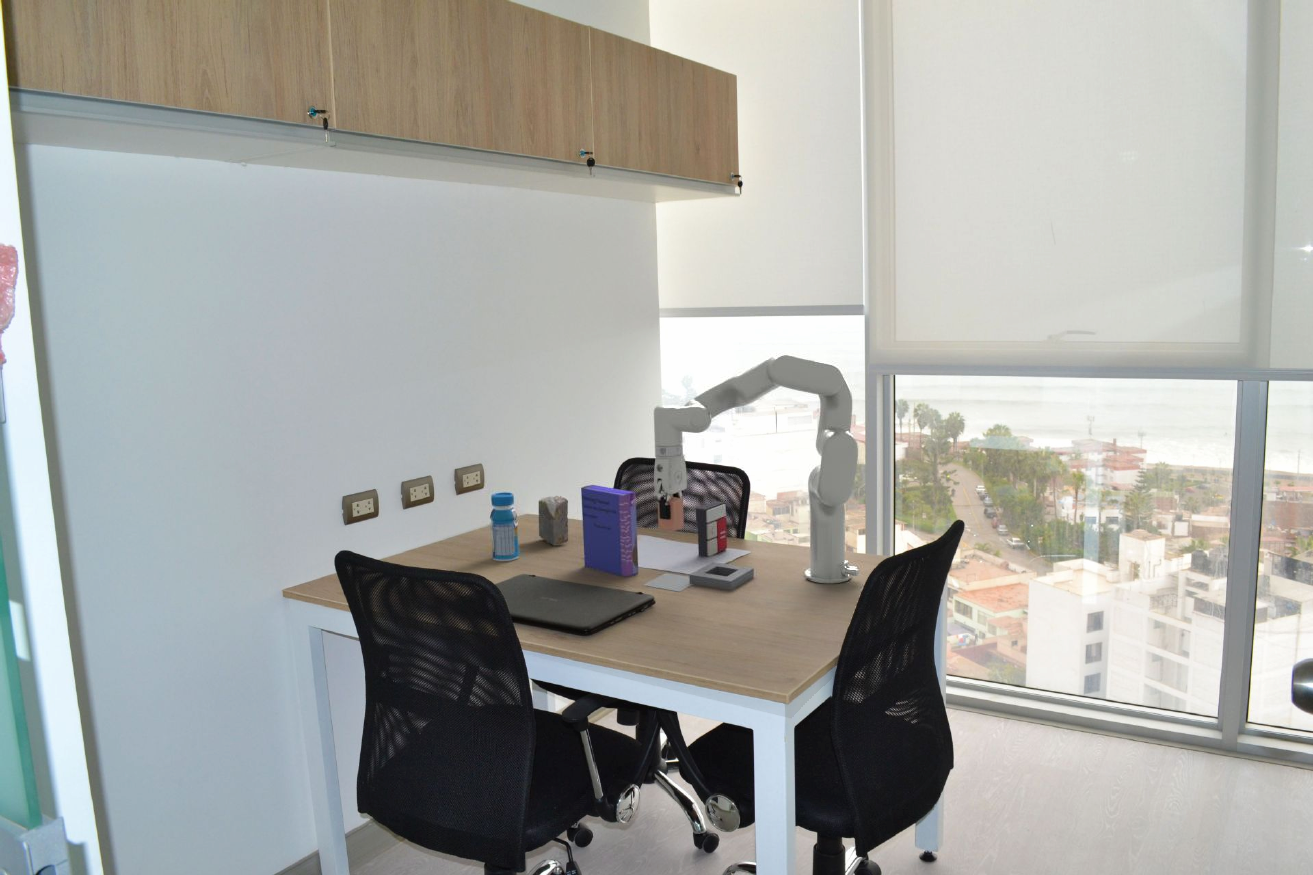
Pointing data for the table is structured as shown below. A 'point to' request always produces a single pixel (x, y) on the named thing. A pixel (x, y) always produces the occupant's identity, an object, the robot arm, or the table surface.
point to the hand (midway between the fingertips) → (670, 515)
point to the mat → (670, 582)
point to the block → (673, 515)
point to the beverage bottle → (504, 527)
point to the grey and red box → (711, 528)
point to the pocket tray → (721, 576)
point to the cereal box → (610, 530)
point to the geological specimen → (553, 520)
